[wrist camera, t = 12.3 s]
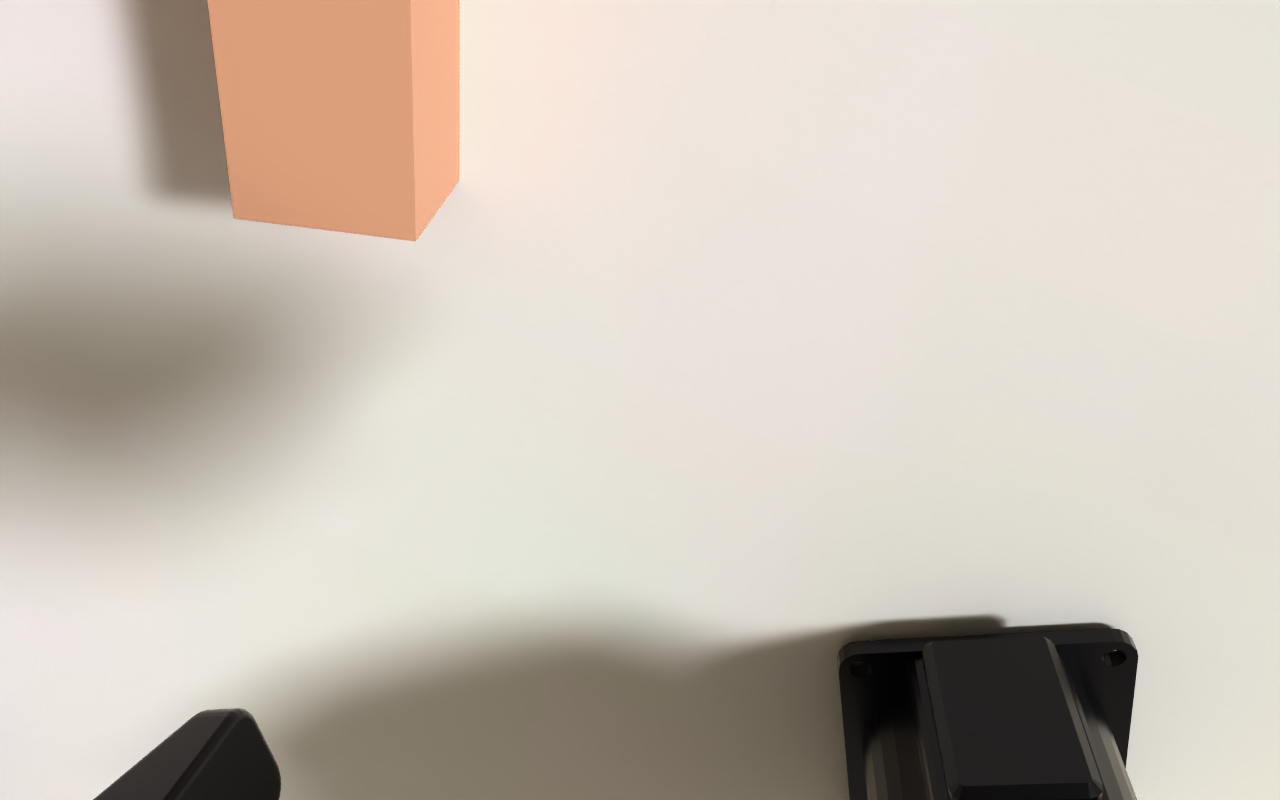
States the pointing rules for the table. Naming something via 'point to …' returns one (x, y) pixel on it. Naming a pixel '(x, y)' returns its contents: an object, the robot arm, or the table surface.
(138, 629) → the table surface
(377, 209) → the salmon orange bar
